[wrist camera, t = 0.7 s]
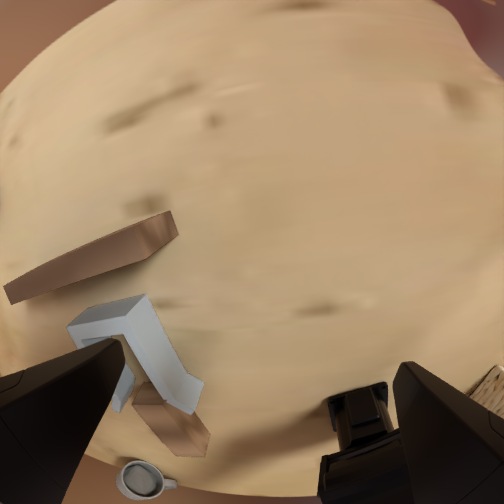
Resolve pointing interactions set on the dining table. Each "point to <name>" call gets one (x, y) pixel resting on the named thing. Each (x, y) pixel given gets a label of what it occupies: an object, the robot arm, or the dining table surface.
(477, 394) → the storage basket
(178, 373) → the cradle
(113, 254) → the backstop
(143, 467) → the ceramic mug
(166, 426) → the rectangular wooden block
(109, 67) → the dining table surface
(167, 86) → the dining table surface
